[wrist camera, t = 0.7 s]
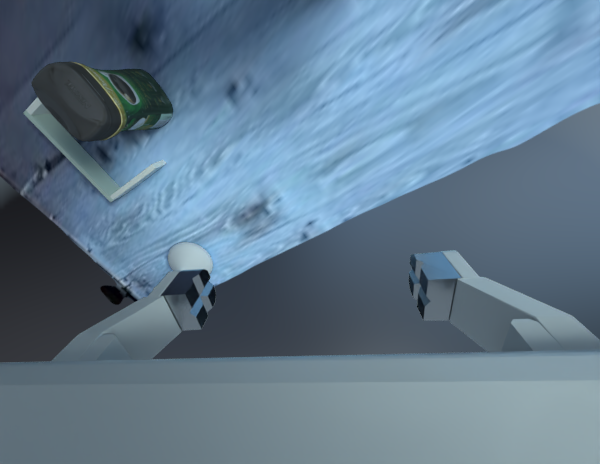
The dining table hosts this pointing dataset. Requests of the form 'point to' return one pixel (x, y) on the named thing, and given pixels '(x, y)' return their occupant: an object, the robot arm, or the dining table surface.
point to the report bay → (82, 154)
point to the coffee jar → (101, 100)
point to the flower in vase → (189, 257)
